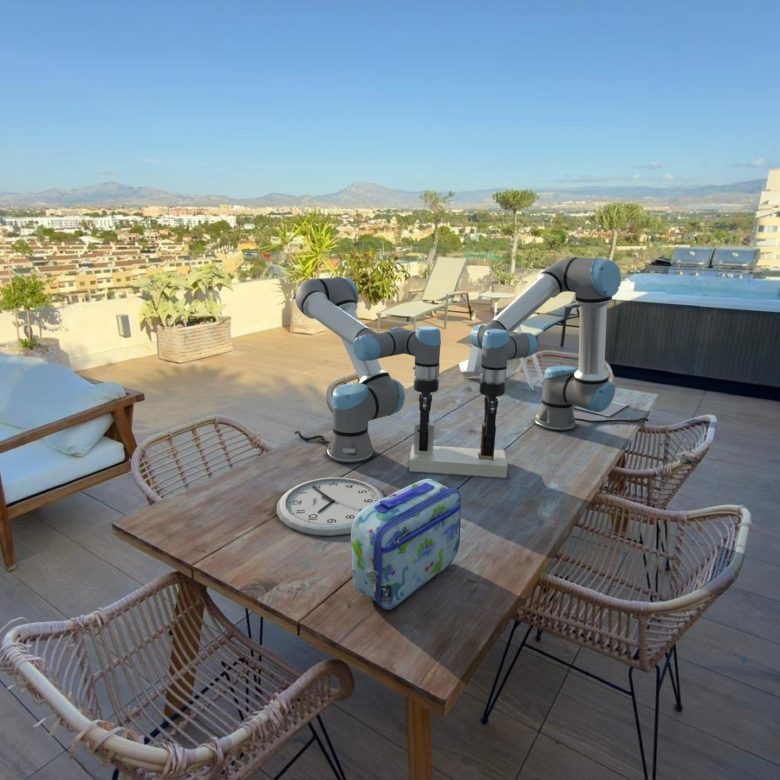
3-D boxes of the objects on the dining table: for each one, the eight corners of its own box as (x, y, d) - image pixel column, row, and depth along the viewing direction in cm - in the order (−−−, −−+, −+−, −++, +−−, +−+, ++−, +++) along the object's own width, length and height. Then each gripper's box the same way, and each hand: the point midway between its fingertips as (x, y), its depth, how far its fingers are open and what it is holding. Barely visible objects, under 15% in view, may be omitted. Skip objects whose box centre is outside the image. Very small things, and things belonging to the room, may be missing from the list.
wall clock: (392, 527, 129) (268, 531, 127) (391, 533, 130) (269, 537, 127) (383, 473, 158) (282, 475, 155) (383, 478, 158) (282, 480, 156)
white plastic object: (480, 419, 265) (459, 396, 241) (461, 346, 287) (441, 319, 263) (551, 395, 253) (536, 368, 228) (526, 321, 275) (510, 290, 251)
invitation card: (608, 416, 214) (573, 407, 224) (608, 416, 214) (573, 408, 224) (628, 404, 229) (594, 396, 238) (628, 405, 229) (594, 397, 238)
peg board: (503, 461, 172) (506, 421, 167) (506, 477, 160) (510, 435, 156) (412, 455, 175) (413, 416, 171) (409, 471, 164) (410, 429, 159)
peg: (492, 451, 167) (495, 422, 164) (493, 456, 163) (496, 426, 160) (480, 450, 167) (482, 421, 164) (480, 456, 163) (482, 426, 160)
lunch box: (380, 623, 100) (381, 528, 94) (344, 596, 108) (343, 505, 101) (464, 565, 118) (470, 482, 112) (428, 545, 125) (432, 466, 119)
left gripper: (416, 370, 168) (413, 437, 175) (412, 384, 153) (409, 457, 160) (439, 371, 167) (436, 439, 174) (437, 385, 152) (434, 459, 159)
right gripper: (478, 373, 166) (474, 440, 173) (481, 388, 150) (476, 462, 157) (502, 374, 166) (497, 442, 173) (508, 390, 149) (501, 464, 156)
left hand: (423, 448), depth 167 cm, fingers closed on peg board, 3 cm apart
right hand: (487, 451), depth 165 cm, fingers closed on peg, 4 cm apart
